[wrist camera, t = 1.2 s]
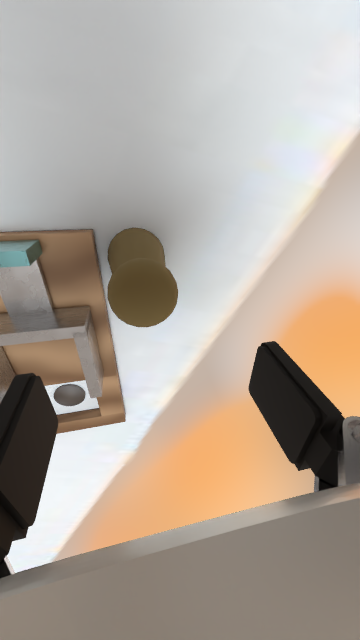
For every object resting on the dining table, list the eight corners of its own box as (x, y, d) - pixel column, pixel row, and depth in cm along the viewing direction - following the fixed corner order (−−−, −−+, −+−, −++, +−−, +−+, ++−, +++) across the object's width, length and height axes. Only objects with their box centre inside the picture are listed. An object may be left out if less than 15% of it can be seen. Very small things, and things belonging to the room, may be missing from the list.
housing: (-67, 243, 20) (-105, 257, 16) (74, 238, 22) (65, 250, 18) (8, 385, 28) (-7, 413, 25) (103, 371, 30) (101, 396, 27)
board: (-76, 234, 21) (-88, 238, 19) (92, 229, 23) (91, 232, 22) (29, 429, 35) (26, 439, 34) (125, 413, 38) (125, 421, 37)
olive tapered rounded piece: (145, 292, 28) (157, 350, 19) (97, 265, 25) (83, 319, 16) (175, 248, 26) (204, 290, 17) (125, 214, 23) (128, 242, 14)
